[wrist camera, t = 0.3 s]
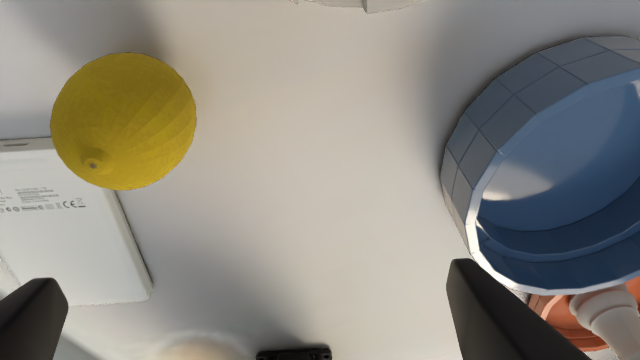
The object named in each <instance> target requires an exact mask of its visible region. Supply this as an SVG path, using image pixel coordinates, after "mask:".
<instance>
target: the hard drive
mask: <svg viewBox="0 0 640 360" xmlns="http://www.w3.org/2000/svg"><path fill="white" fill-rule="evenodd" d="M0 257H1V258H2V260H3V261H4V263H5V265H6V266H7V268H8V269H9V271H10V272H11V274H12V275H13V276H14V278H15V279H16V281H17V282H18V284H19V285H20V287H21V286H22V285H24V284H25V283H27V282H28V281H30V280H31V279H34V278H46V277H51V278H54V279H55V280H56V281H57V282H58V284H59V286H60V288H61V289H62V291H63V293H64V295H65V297H66V299H67V301H68V306H83V305H101V304H117V303H131V302H142V301H146V300H148V299H149V298H150V295H151V293H152V290H153V284H152V282H151V279H150V277H149V275H148V272H147V270H146V267H145V265H144V262H143V260H142V257H141V255H140V253H139V250H138V247H137V245H136V243H135V240H134V237H133V235H132V233H131V230H130V228H129V225H128V223H127V221H126V218H125V215H124V213H123V210H122V208H121V205H120V203H119V200H118V198H117V196H116V193H115V191H114V190H112V189H107V188H102V187H98V186H96V185H93V184H90V183H88V182H86V181H85V180H83V179H81V178H80V177H78V176H77V175H75V174H74V173H73V172H72V171H71V170H70V169H69V168H68V167H67V166H66V165H65V164H64V162H63V161H62V160H61V158H60V157H59V156H58V154H57V152H56V149H55V147H54V145H53V142H52V137H48V138H33V139H16V140H0Z"/></svg>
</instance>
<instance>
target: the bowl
mask: <svg viewBox="0 0 640 360" xmlns="http://www.w3.org/2000/svg"><path fill="white" fill-rule="evenodd" d="M440 180H441V184H442V189H443V194H444V198H445V203H446V206H447V208H448V210H449V212H450V214H451V216H452V218H453V220H454V222H455V224H456V227H457V228H458V230H459V233H460V235H461V237H462V239H463V241H464V243H465V245H466V247H467V249H468V251H469V253H470V255H471V256H472V257H473V259H474V260H475V261H476V262H477V264H478V265H479V266H481V267H482V268H483V269H484V270H485V271H487V272H488V273H489V274H490V275H491V276H493V277H494V278H495V279H496V280H497V281H499V282H500V283H501V284H503V285H505V286H507V287H508V288H510V289H512V290H516V291H521V292H527V293H532V294H537V295H542V296H550V295H573V294H583V293H587V292H591V291H595V290H599V289H603V288H608V287H612V286H616V285H619V284H622V283H624V282H627V281H629V280H631V279H634V278H636V277H638V276H640V41H639V40H636V39H634V38H631V37H626V36H605V37H582V38H579V39H576V40H573V41H570V42H567V43H564V44H561V45H557V46H554V47H551V48H548V49H545V50H542V51H539V52H537V53H534V54H533V55H531V56H530V57H528V58H527V59H525V60H523V61H522V62H520V63H519V64H517V65H516V66H514V67H512V68H511V69H509V70H508V71H506V72H505V73H503V74H501V75H500V76H498V77H497V78H496V79H494V80H493V81H492V82H491V83H490V84H489V85H488V86H487V88H486V89H485V90H484V91H483V92H482V93H481V94H480V95H479V96H478V97H477V98H476V99H475V100H474V101H473V102H472V103H471V104H470V105H469V106H468V107H467V109H466V110H465V112H464V113H463V115H462V117H461V119H460V120H459V122H458V124H457V126H456V128H455V130H454V132H453V133H452V135H451V137H450V139H449V141H448V143H447V145H446V147H445V153H444V158H443V164H442V170H441V175H440Z"/></svg>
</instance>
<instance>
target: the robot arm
mask: <svg viewBox="0 0 640 360" xmlns="http://www.w3.org/2000/svg"><path fill="white" fill-rule="evenodd" d="M446 291H447V296H448V300H449V304H450V309H451V313H452V317H453V321H454V325H455V329H456V334H457V338H458V342H459V346H460V350H461V354H462V357H463V360H592V359H590V358H589V357H588V356H587V355H586V354H584V353H583V352H582V351H581V350H580V349H579V348H577V347H576V346H575V345H574V344H573V343H571V342H570V341H569V340H568V339H567V338H565V337H564V336H563V335H562V334H561V333H559V332H558V331H557V330H556V329H555V328H553V327H552V326H551V325H550V324H549V323H547V322H546V321H545V320H544V319H543V318H542V317H540V316H539V315H538V314H537V313H536V312H534V311H533V310H532V309H531V308H530V307H528V306H527V305H526V304H525V303H524V302H522V301H521V300H520V299H519V298H518V297H516V296H515V295H514V294H513V293H512V292H511V291H509V290H508V289H507V288H506V287H505V286H503V285H502V284H501V283H500V282H499V281H497V280H496V279H495V278H494V277H493V276H491V275H490V274H489V273H488V272H487V271H485V270H484V269H483V268H482V267H481V266H479V265H478V264H477V263H476V262H475V261H473V260H472V259H469V258H463V259H453V260H452V262H451V265H450V269H449V274H448V278H447V283H446ZM67 313H68V301H67V299H66V297H65V295H64V293H63V291H62V289H61V288H60V286H59V284H58V282H57V281H56V280H55V279H54V278H51V277H46V278H34V279H31V280H30V281H28V282H27V283H25V284H24V285H22V286H21V287H19V288H18V289H17V290H15V291H14V292H12V293H11V294H9V295H8V296H6V297H5V298H4V299H2V300H1V301H0V360H52V359H53V356H54V353H55V350H56V347H57V344H58V341H59V338H60V335H61V331H62V328H63V325H64V322H65V319H66V316H67ZM256 360H332V352H331V350H329V349H315V350H294V351H272V352H259V353H257V355H256Z"/></svg>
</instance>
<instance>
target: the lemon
mask: <svg viewBox="0 0 640 360" xmlns="http://www.w3.org/2000/svg"><path fill="white" fill-rule="evenodd" d="M195 127H196V107H195V102H194V99H193V97H192V94H191V91H190V89H189V88H188V86H187V85H186V83H185V81H184V80H183V78H182V77H181V76H180V75H179V74H178V73H177V72H176V71H175V70H174V69H173V68H171V67H170V66H168V65H167V64H165V63H163V62H162V61H160V60H158V59H155V58H153V57H150V56H147V55H143V54H136V53H130V52H129V53H118V54H110V55H106V56H104V57H101V58H99V59H96V60H94V61H91V62H89V63H87V64H86V65H84V66H83V67H82V68H81V69H80V70H78V71H77V72H76V73H75V74H74V75H73V76H71V77H70V78H69V80H68V81H67V82H66V84H65V85H64V87H63V88H62V90H61V92H60V94H59V95H58V97H57V99H56V101H55V103H54V106H53V109H52V115H51V121H50V130H51V137H52V142H53V145H54V147H55V149H56V152H57V154H58V156H59V157H60V158H61V160H62V161H63V162H64V164H65V165H66V166H67V167H68V168H69V169H70V170H71V171H72V172H73V173H74V174H75V175H77V176H78V177H80V178H81V179H83V180H85V181H86V182H88V183H90V184H93V185H96V186H98V187H102V188H107V189H112V190H132V189H136V188H141V187H145V186H147V185H149V184H151V183H153V182H155V181H158V180H160V179H161V178H162V177H164V176H165V175H166V174H167V173H169V172H170V171H171V170H172V169H173V168H174V167H175V166H176V165H177V164H178V163H179V162H180V161H181V160H182V159H183V157H184V155H185V153H186V152H187V150H188V148H189V147H190V145H191V143H192V140H193V136H194V132H195Z"/></svg>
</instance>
